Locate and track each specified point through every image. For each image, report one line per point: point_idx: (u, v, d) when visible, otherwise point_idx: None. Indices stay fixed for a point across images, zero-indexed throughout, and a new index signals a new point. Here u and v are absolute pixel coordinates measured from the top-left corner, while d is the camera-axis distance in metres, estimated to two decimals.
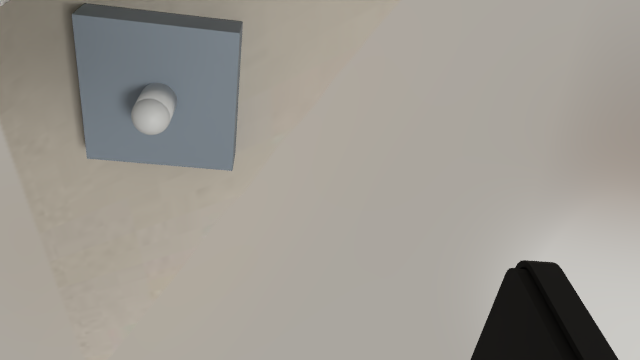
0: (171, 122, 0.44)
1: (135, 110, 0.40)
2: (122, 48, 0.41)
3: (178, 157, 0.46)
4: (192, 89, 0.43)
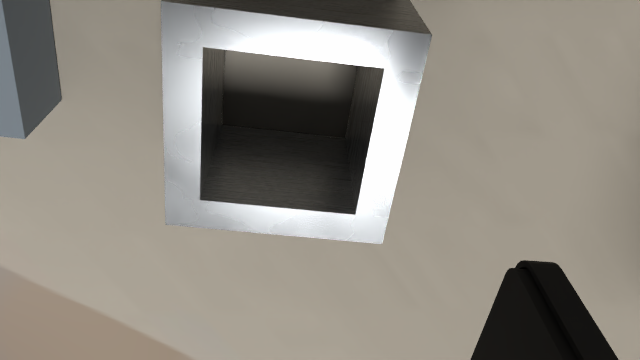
0: None
1: None
2: None
3: None
4: None
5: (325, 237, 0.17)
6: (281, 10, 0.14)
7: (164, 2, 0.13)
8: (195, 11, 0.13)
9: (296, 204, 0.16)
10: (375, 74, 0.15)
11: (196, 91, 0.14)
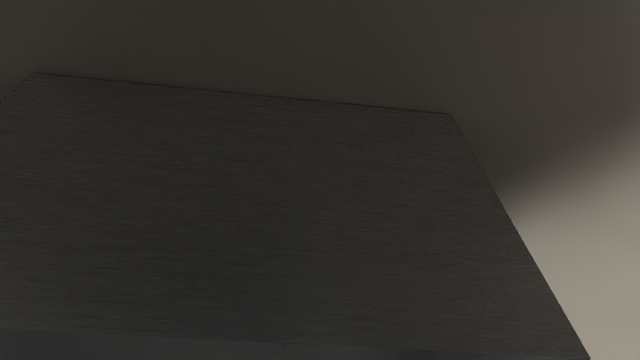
0: None
1: None
2: None
3: None
4: None
5: None
6: (170, 289, 0.05)
7: None
8: None
9: None
10: None
11: None
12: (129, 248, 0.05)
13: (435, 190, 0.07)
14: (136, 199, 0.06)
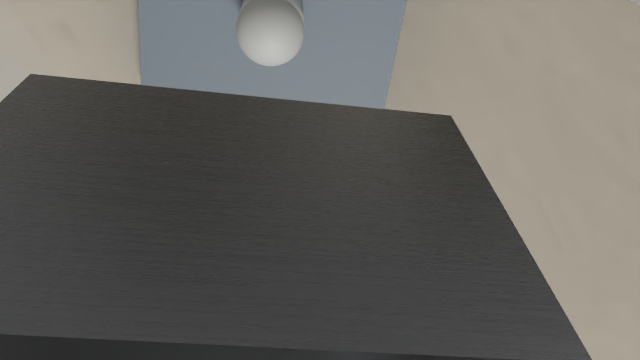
0: (229, 26, 0.25)
1: (290, 16, 0.21)
2: None
3: (158, 29, 0.25)
4: (292, 68, 0.27)
5: None
6: (169, 293, 0.05)
7: None
8: None
9: None
10: None
11: None
12: (128, 251, 0.05)
13: (436, 192, 0.07)
14: (135, 202, 0.06)
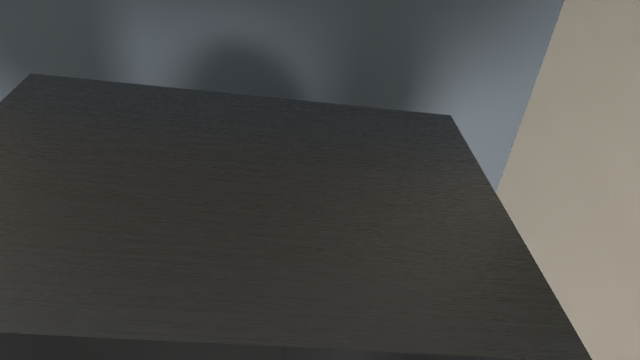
0: None
1: None
2: (436, 86, 0.12)
3: None
4: None
5: None
6: (169, 292, 0.05)
7: None
8: None
9: None
10: None
11: None
12: (127, 250, 0.05)
13: (436, 191, 0.07)
14: (135, 201, 0.06)
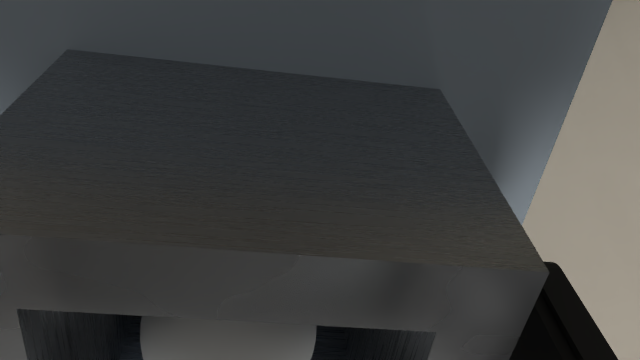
0: None
1: (278, 325, 0.08)
2: None
3: None
4: None
5: None
6: (202, 216, 0.06)
7: None
8: None
9: None
10: None
11: None
12: (166, 185, 0.06)
13: (425, 148, 0.08)
14: (168, 149, 0.07)
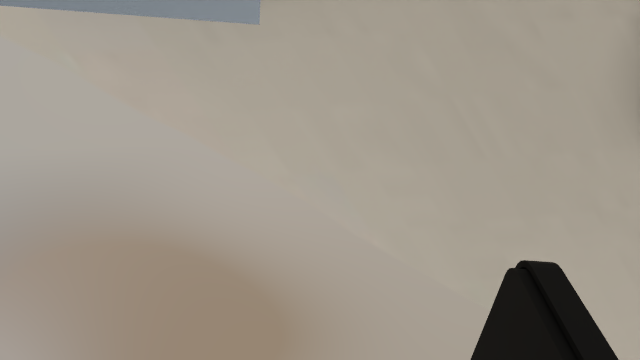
0: None
1: None
2: None
3: None
4: None
5: None
6: None
7: None
8: None
9: None
10: None
11: None
12: None
13: None
14: None
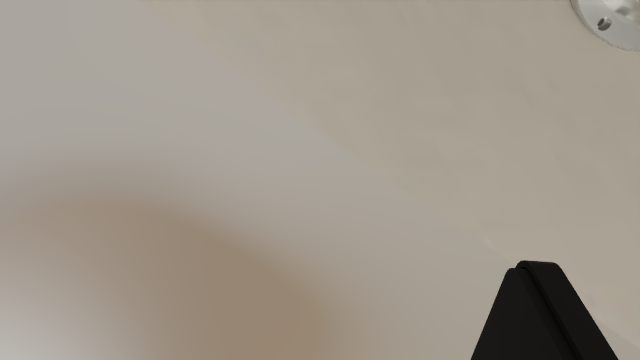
0: None
1: None
2: None
3: None
4: None
5: None
6: None
7: None
8: None
9: None
10: None
11: None
12: None
13: None
14: None
